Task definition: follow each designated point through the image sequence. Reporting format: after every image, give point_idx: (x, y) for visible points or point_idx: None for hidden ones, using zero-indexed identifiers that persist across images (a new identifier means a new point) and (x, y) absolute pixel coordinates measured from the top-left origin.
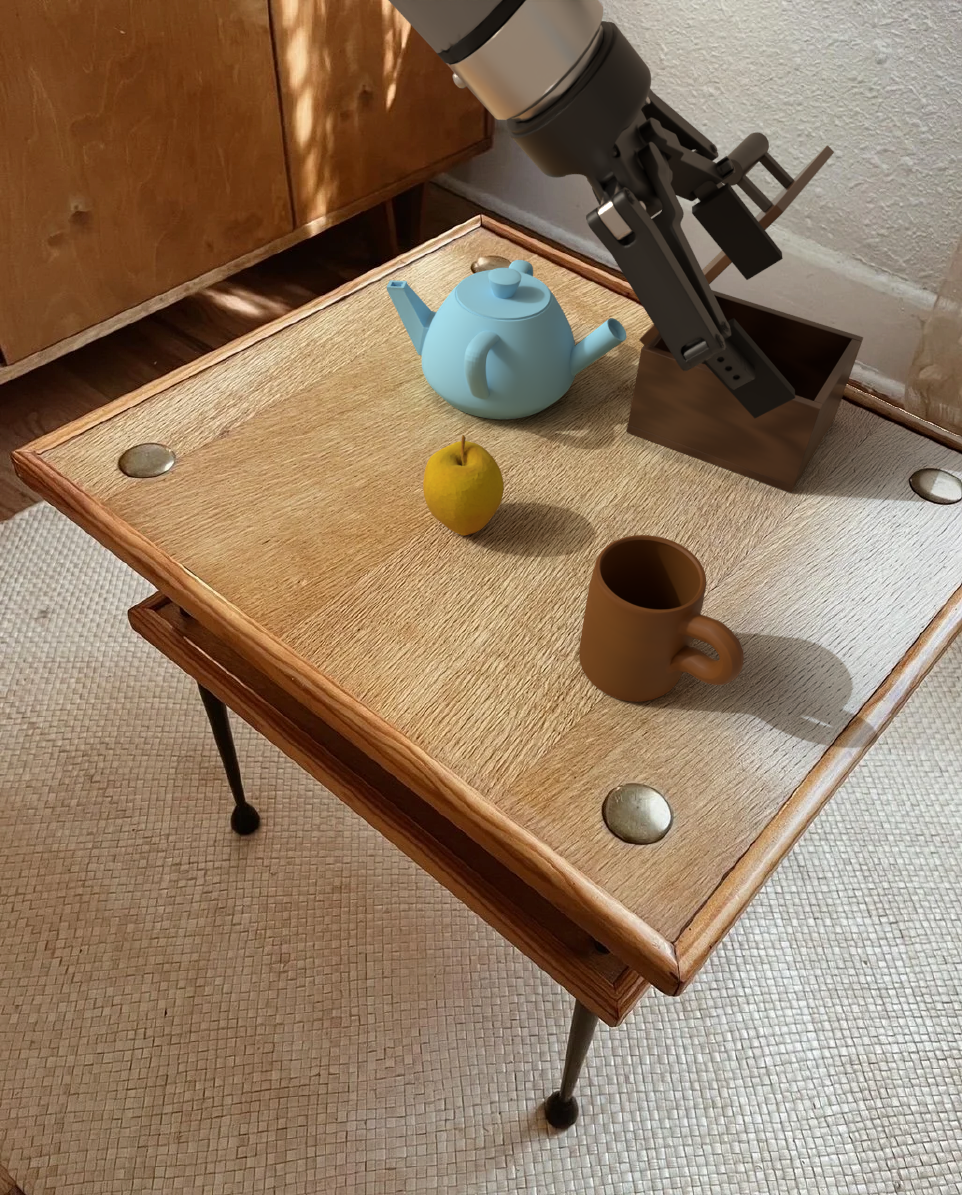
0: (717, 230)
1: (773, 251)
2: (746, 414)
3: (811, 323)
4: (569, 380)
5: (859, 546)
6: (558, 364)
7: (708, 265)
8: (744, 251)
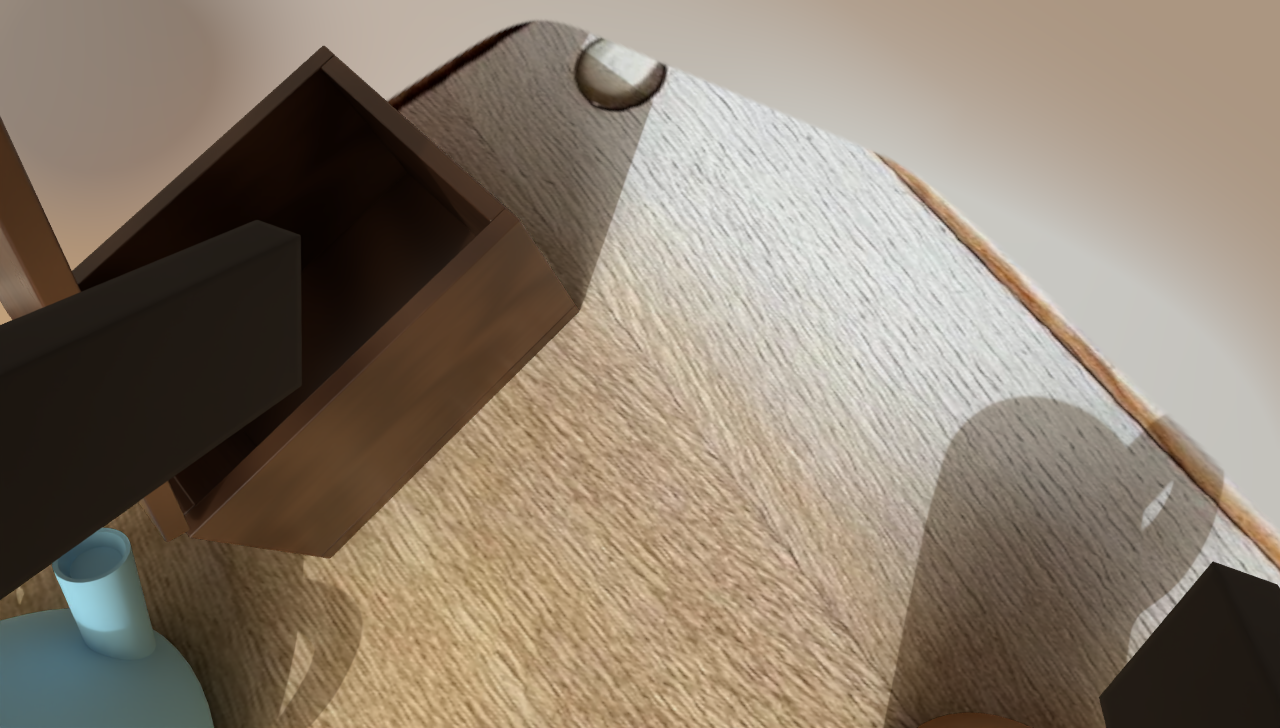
0: (40, 526)
1: (258, 264)
2: (439, 353)
3: (245, 125)
4: (166, 660)
5: (735, 250)
6: (127, 705)
7: (3, 294)
8: (203, 391)
